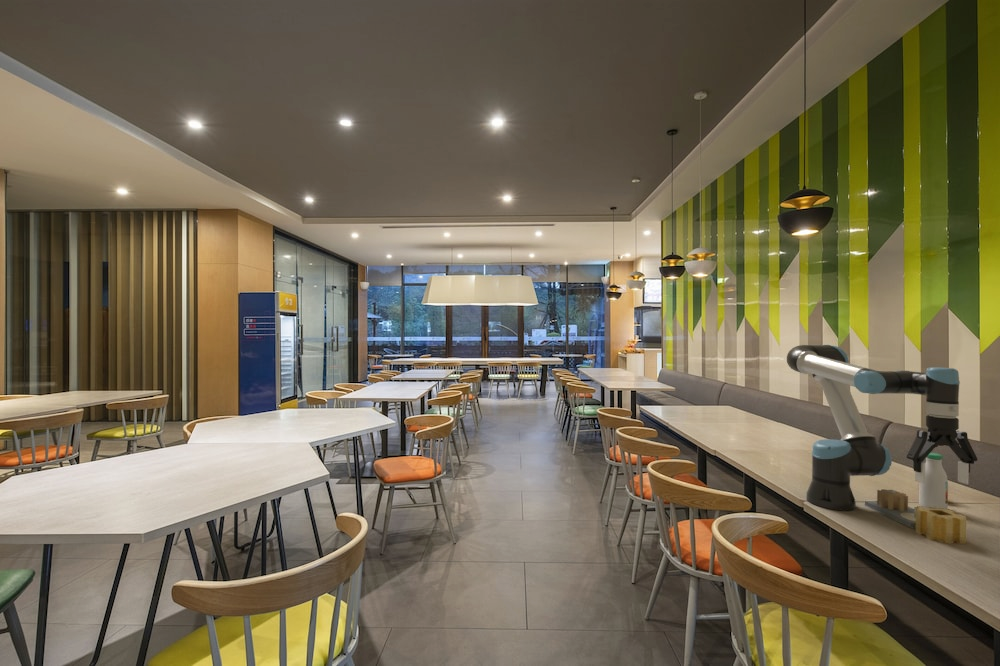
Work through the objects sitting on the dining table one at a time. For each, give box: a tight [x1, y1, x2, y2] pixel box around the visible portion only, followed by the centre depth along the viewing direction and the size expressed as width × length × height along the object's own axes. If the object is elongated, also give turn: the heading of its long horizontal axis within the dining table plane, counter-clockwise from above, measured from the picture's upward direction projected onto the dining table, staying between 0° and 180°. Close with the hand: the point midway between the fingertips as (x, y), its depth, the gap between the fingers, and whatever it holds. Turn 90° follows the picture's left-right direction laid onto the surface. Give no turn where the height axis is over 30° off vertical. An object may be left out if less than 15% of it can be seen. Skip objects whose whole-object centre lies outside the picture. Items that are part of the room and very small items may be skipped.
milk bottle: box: [918, 452, 949, 510], centre depth 170 cm, size 8×8×20 cm
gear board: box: [864, 488, 917, 529], centre depth 161 cm, size 12×20×7 cm, turn 178°
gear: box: [915, 505, 967, 545], centre depth 146 cm, size 10×10×8 cm
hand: (941, 482), depth 146 cm, fingers open, 13 cm apart
